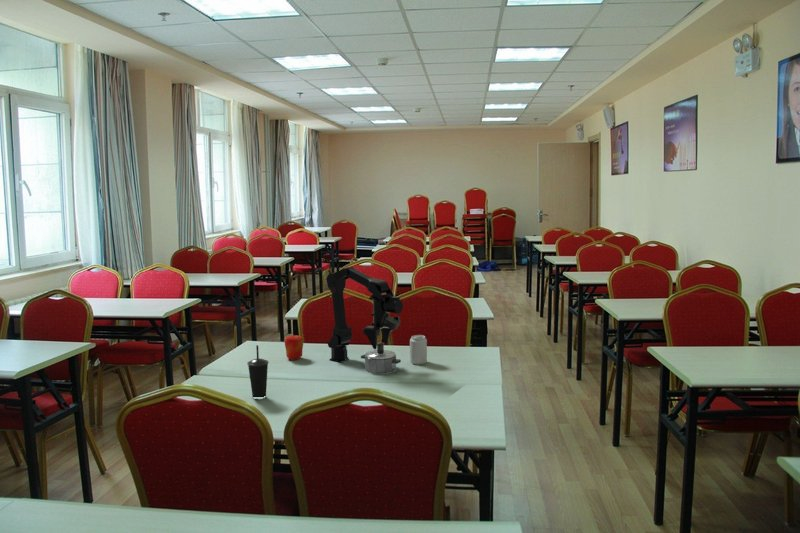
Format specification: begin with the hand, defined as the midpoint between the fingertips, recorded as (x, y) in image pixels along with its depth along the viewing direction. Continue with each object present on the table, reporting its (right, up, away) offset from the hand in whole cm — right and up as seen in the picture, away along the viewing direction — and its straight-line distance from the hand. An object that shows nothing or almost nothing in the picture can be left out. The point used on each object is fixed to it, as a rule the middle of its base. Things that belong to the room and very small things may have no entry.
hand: (380, 346), depth 271 cm
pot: (0, -10, +1) cm, 10 cm away
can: (+16, -9, +11) cm, 21 cm away
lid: (0, -4, +1) cm, 4 cm away
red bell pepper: (-40, -8, +18) cm, 44 cm away
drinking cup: (-44, -15, -33) cm, 57 cm away
